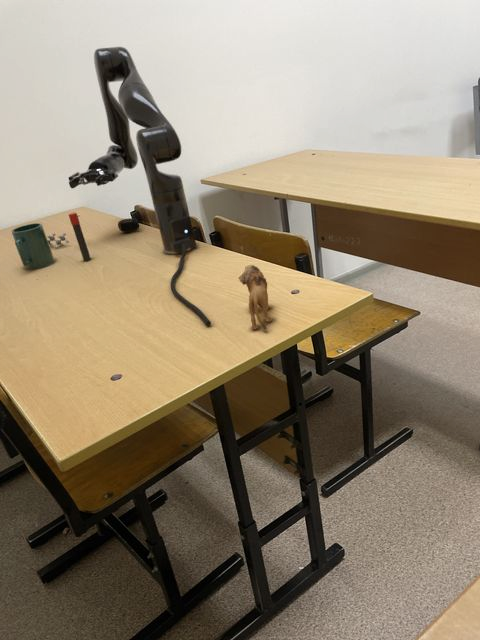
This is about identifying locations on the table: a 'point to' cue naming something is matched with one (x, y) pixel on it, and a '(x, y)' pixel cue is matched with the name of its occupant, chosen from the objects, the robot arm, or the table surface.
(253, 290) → the brown animal figure
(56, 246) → the molecular model
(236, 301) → the table surface
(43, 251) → the mug
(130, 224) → the tape measure
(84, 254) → the marker
